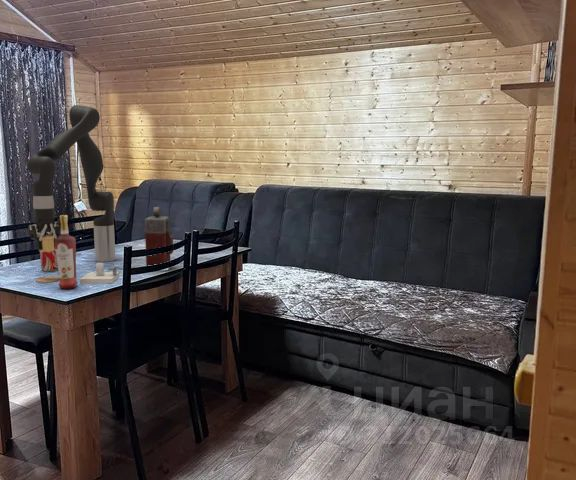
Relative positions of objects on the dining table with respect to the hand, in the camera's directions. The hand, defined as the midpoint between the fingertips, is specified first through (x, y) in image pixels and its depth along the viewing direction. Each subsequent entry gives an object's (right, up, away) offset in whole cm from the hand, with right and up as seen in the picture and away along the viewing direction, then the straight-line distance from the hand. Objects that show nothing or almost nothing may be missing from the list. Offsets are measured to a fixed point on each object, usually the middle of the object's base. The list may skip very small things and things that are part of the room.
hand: (46, 248), depth 210 cm
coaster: (0, -13, +2) cm, 13 cm away
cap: (0, -1, 0) cm, 1 cm away
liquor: (+13, -15, -10) cm, 22 cm away
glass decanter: (+40, -10, +25) cm, 48 cm away
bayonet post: (+21, -13, +3) cm, 25 cm away
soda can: (-7, -10, +19) cm, 23 cm away
